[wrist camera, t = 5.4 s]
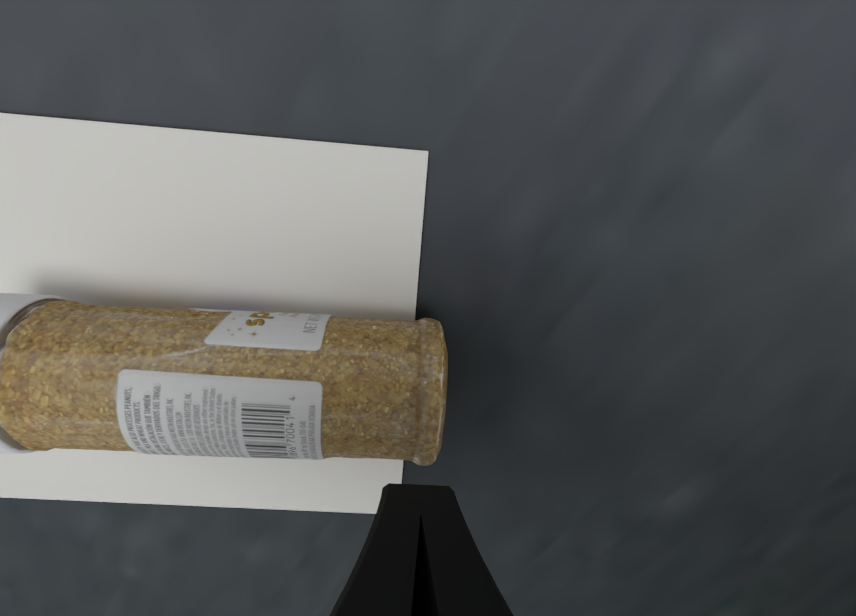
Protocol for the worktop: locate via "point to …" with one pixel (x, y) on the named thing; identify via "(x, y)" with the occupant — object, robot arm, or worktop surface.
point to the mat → (206, 274)
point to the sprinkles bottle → (218, 382)
